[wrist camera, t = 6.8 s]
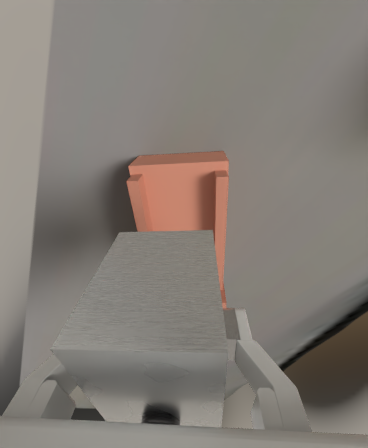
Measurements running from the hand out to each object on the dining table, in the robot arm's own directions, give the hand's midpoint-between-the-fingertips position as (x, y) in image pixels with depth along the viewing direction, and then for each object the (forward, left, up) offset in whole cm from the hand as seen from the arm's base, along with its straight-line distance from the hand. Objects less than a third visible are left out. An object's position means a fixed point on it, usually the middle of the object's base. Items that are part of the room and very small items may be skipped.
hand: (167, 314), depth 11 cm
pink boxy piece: (+3, 0, -15) cm, 16 cm away
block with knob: (0, 0, -2) cm, 2 cm away
